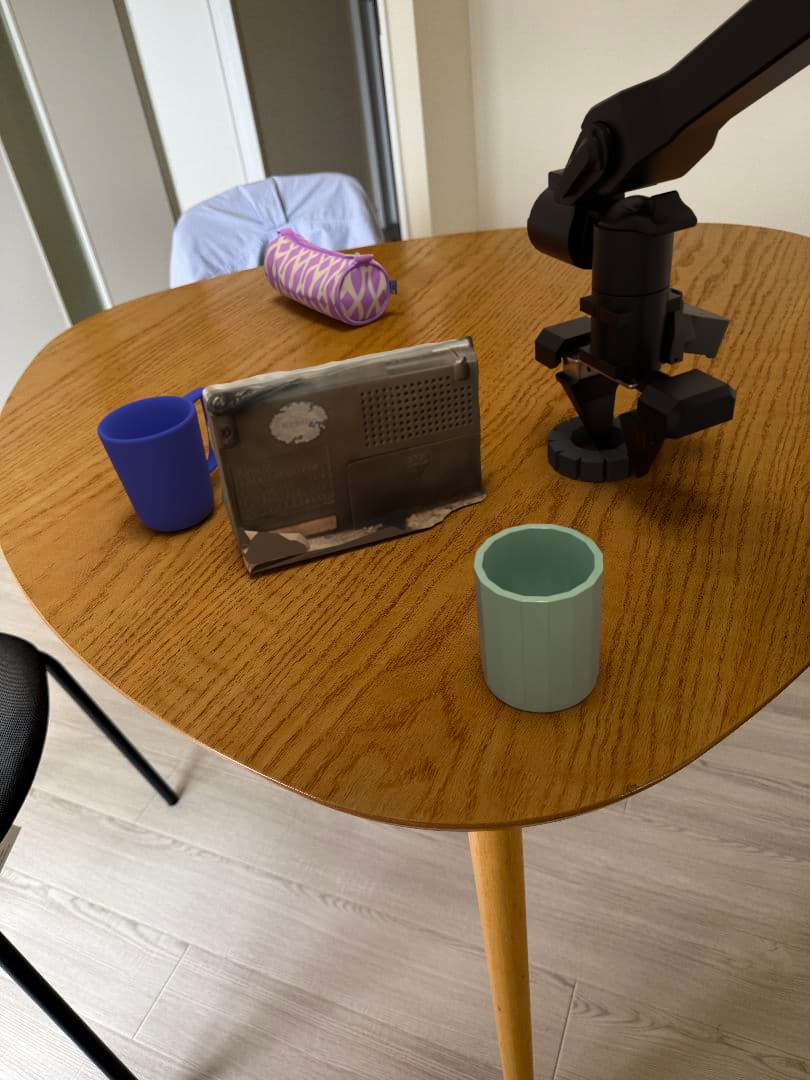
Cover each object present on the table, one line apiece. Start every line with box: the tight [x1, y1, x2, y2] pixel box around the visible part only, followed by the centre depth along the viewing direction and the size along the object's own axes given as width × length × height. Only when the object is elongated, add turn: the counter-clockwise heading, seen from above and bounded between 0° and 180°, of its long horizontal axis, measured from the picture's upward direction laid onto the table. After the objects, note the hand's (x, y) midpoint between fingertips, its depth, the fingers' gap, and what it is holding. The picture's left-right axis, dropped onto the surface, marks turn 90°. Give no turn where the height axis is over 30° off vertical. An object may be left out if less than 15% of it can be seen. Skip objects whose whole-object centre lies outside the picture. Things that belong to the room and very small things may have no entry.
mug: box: [96, 386, 218, 533], centre depth 70 cm, size 8×12×10 cm
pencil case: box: [263, 227, 398, 326], centre depth 109 cm, size 22×9×10 cm, turn 39°
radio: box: [202, 335, 488, 575], centre depth 63 cm, size 23×9×15 cm, turn 105°
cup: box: [473, 523, 604, 713], centre depth 48 cm, size 7×7×9 cm
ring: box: [546, 414, 634, 483], centre depth 71 cm, size 9×9×2 cm
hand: (620, 462), depth 68 cm, fingers open, 5 cm apart
